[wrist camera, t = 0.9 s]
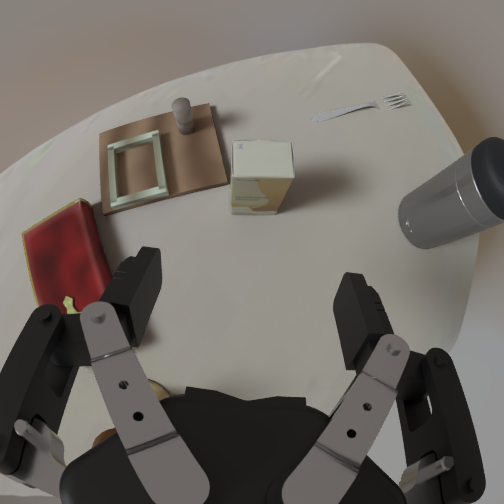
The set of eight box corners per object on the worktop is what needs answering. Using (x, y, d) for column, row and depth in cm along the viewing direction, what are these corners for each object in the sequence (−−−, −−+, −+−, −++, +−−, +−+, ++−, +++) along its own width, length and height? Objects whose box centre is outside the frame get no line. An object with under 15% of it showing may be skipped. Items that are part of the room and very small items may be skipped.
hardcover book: (93, 205, 39) (80, 196, 34) (140, 343, 36) (129, 348, 32) (35, 238, 37) (20, 233, 33) (74, 368, 34) (59, 373, 30)
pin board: (209, 107, 42) (206, 77, 35) (227, 184, 40) (226, 161, 33) (101, 136, 40) (84, 113, 33) (105, 216, 38) (83, 200, 31)
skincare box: (230, 215, 39) (228, 177, 27) (230, 185, 40) (228, 138, 28) (278, 215, 39) (296, 178, 27) (277, 185, 40) (293, 139, 28)
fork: (289, 117, 43) (291, 111, 41) (398, 95, 45) (402, 89, 44) (298, 133, 42) (300, 127, 40) (407, 108, 45) (411, 103, 43)
